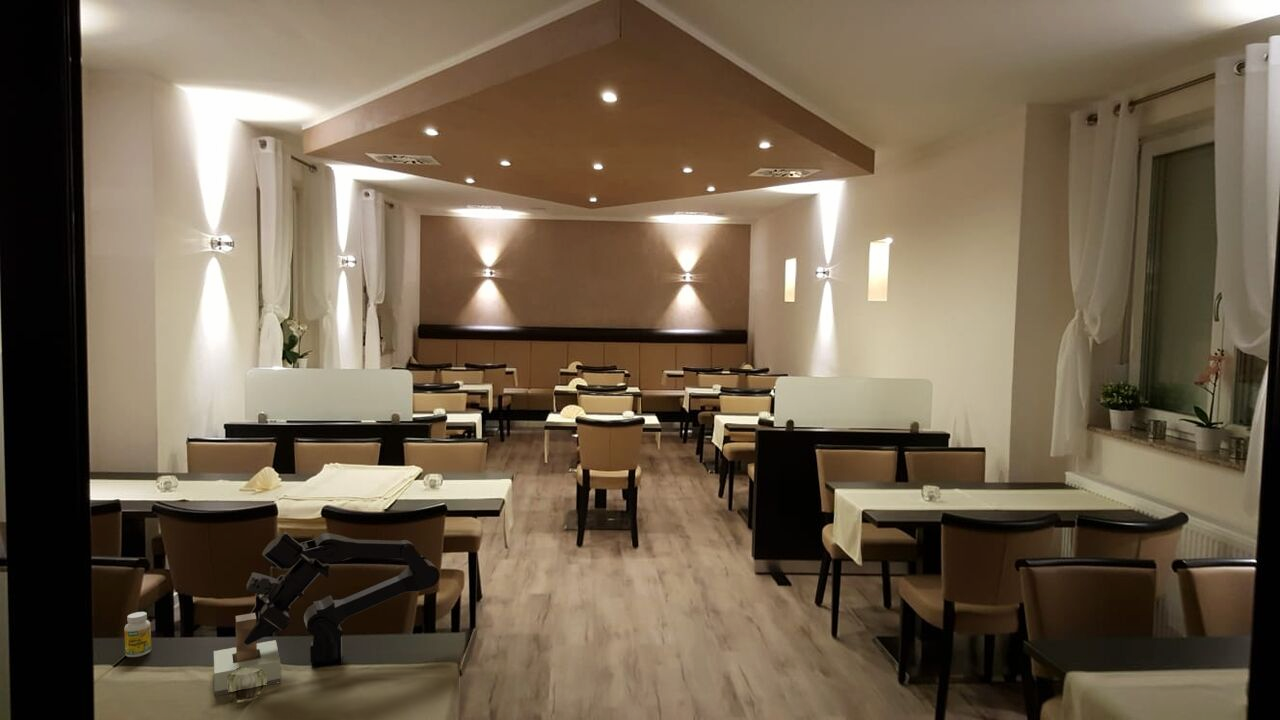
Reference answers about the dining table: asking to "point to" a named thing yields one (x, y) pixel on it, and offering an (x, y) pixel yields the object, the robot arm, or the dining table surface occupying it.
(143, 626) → the supplement bottle
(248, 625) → the walnut peg
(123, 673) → the dining table surface
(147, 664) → the dining table surface
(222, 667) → the socket block
